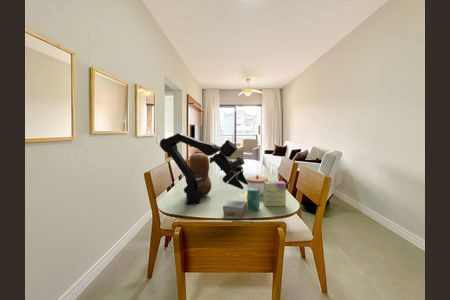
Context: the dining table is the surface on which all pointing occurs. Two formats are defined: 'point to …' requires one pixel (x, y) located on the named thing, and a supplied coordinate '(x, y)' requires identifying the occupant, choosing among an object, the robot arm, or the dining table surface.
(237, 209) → the tower top slab
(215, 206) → the dining table surface
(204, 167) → the butternut squash
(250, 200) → the teal block
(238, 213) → the tower bottom slab
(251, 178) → the lidded bowl
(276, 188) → the box
